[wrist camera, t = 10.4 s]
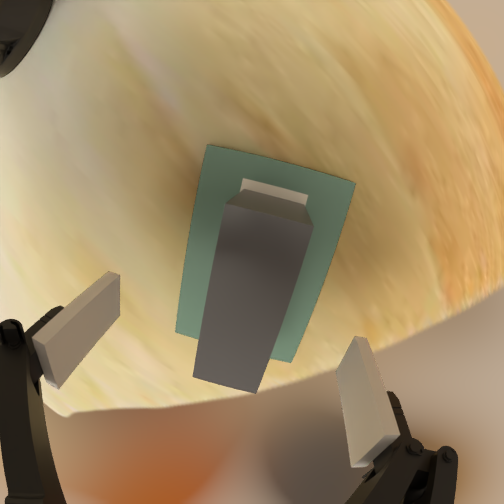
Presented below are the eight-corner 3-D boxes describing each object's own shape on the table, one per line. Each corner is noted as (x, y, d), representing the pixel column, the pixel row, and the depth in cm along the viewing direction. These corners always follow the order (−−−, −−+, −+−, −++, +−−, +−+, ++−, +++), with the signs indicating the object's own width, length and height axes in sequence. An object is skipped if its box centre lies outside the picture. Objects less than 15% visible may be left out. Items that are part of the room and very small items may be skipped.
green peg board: (209, 144, 22) (186, 141, 16) (353, 182, 21) (375, 190, 16) (177, 327, 28) (156, 363, 22) (291, 358, 27) (291, 398, 22)
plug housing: (244, 188, 22) (225, 203, 15) (304, 204, 22) (313, 226, 15) (214, 324, 26) (192, 376, 19) (263, 337, 26) (255, 393, 19)
